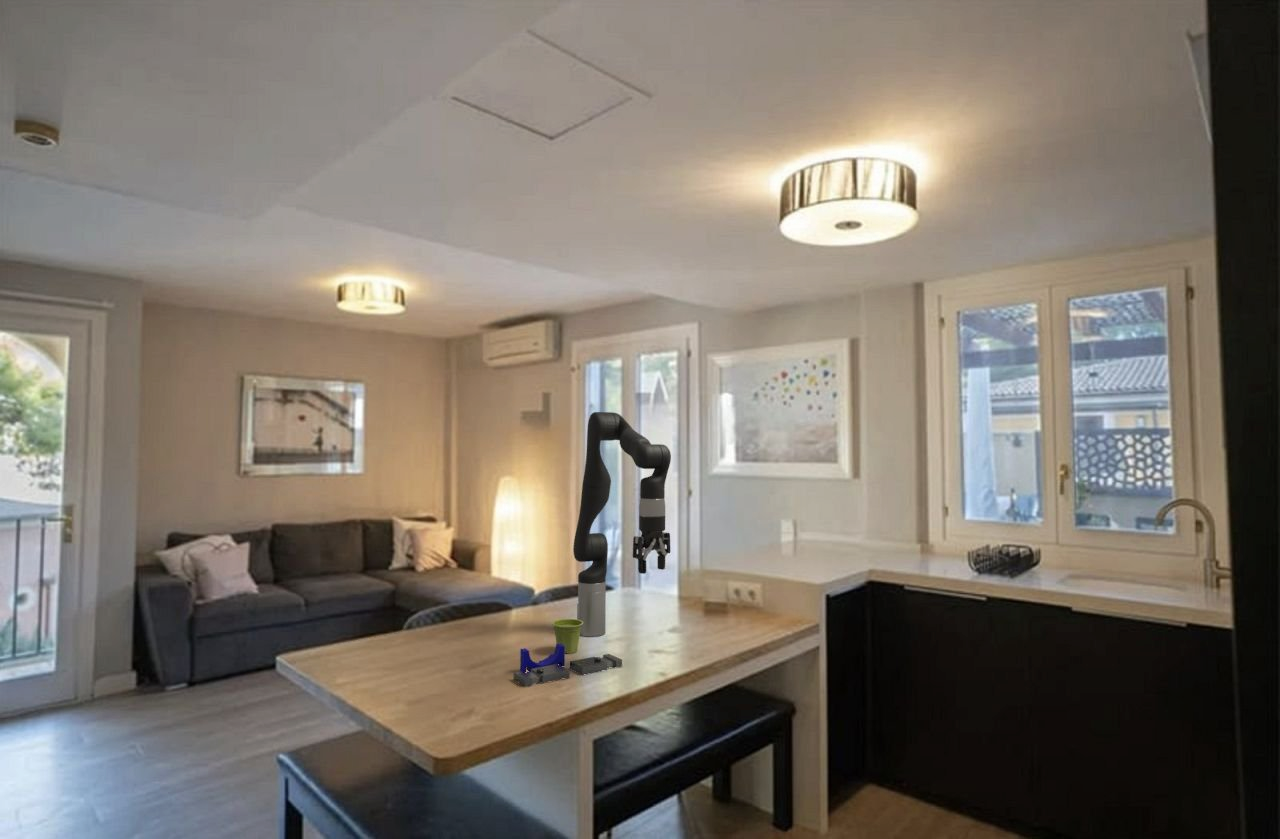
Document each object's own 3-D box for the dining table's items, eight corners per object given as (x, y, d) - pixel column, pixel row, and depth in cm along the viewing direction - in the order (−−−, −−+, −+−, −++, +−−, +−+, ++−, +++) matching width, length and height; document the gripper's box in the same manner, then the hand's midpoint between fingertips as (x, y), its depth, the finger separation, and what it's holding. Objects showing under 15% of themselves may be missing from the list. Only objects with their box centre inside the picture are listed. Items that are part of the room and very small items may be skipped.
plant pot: (589, 651, 212) (589, 622, 212) (565, 657, 205) (566, 627, 206) (569, 645, 218) (569, 617, 219) (545, 651, 212) (545, 622, 212)
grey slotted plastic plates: (513, 679, 185) (513, 670, 185) (608, 660, 202) (608, 651, 202) (525, 687, 179) (525, 676, 179) (622, 666, 196) (622, 657, 196)
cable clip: (558, 663, 200) (559, 642, 200) (564, 667, 196) (564, 646, 196) (518, 669, 195) (518, 647, 195) (523, 673, 191) (523, 651, 191)
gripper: (657, 511, 207) (657, 566, 206) (625, 515, 196) (625, 573, 195) (677, 513, 202) (677, 569, 201) (646, 516, 191) (646, 576, 190)
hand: (651, 571), depth 198 cm, fingers open, 8 cm apart
